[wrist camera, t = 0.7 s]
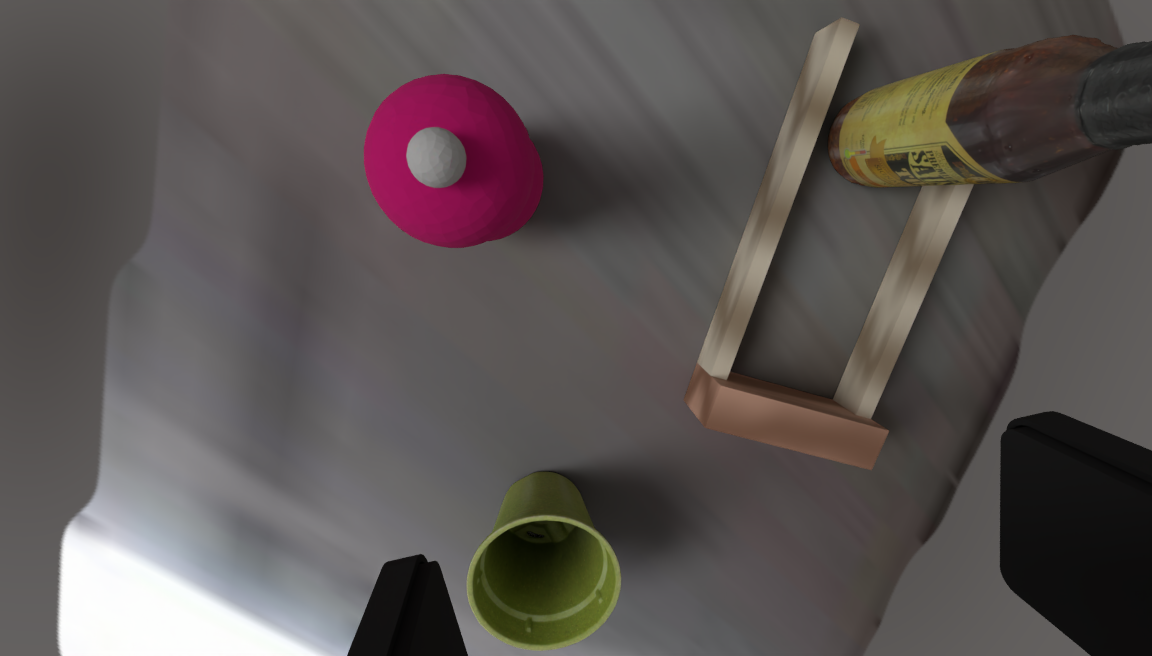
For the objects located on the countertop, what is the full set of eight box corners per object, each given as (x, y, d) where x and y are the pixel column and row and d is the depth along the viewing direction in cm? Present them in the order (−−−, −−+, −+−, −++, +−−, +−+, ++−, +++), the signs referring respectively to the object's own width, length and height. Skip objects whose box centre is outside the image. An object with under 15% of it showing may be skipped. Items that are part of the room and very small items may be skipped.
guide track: (815, 32, 34) (862, 5, 30) (977, 95, 36) (1047, 79, 31) (683, 399, 40) (705, 427, 35) (831, 438, 41) (871, 470, 36)
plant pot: (467, 548, 41) (451, 639, 33) (495, 438, 39) (485, 503, 31) (584, 569, 42) (598, 660, 34) (616, 462, 40) (639, 532, 32)
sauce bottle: (813, 181, 37) (1128, 160, 17) (834, 84, 35) (1201, -56, 16) (901, 194, 37) (1297, 187, 18) (925, 99, 36) (1381, -18, 17)
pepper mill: (410, 149, 34) (250, 80, 15) (513, 103, 34) (493, -27, 14) (460, 253, 36) (377, 316, 16) (559, 210, 36) (594, 222, 16)
